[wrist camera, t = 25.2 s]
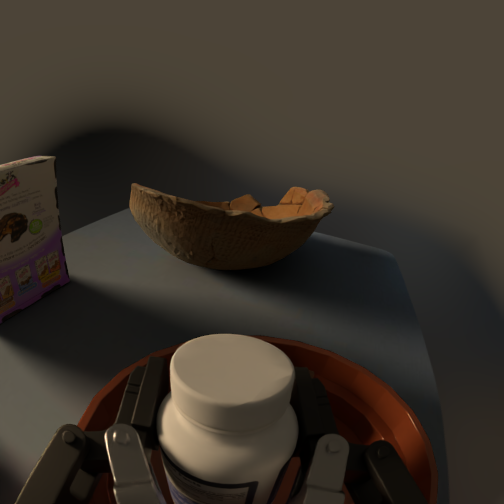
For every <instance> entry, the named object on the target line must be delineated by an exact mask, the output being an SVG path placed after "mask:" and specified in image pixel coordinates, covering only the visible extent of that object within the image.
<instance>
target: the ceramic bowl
mask: <svg viewBox="0 0 504 504" xmlns="http://www.w3.org/2000/svg"><path fill="white" fill-rule="evenodd" d="M329 200H330V199H329V196H328V194H326V193H325V192H324V191H322V190H313V191H310V192H309V191H308V190H307V189H304V188H299V187H293V188H291V189H290V190H289V191H288V192H287V194H286V195H285V196H284V197H283V198H282V200H281V201H280V204H279V205H277V206H269V207H260V206H261V204H260V203H259V202H258V201H257V200H255V199H254V198H253V197H252V196H251V195H249V194H248V195H244V196H242V197H240V198H237V199H235V200H233V201H232V202H231V203H230V202H205V201H190V200H187V199H183V198H178V197H175V196H171V195H167V194H164V193H162V192H159V191H156V190H153V189H150V188H147V187H144V186H141V185H138V184H136V183H134V184H132V191H131V199H130V209H131V212H132V214H133V217H134V219H135V221H136V222H137V223H138V224H139V225H140V227H141V228H142V229H143V231H144V232H145V233H146V234H147V235H148V236H149V237H150V238H151V239H152V240H153V241H154V242H155V243H156V244H158V245H159V246H161V247H162V248H163V249H164V250H166V251H167V252H169V253H170V254H172V255H173V256H175V257H177V258H179V259H181V260H183V261H185V262H187V263H190V264H194V265H197V266H201V267H206V268H210V269H217V270H241V269H249V268H258V267H261V266H266V265H270V264H272V263H274V262H276V261H278V260H280V259H282V258H284V257H286V256H288V255H289V254H290V253H292V252H293V251H295V250H296V249H298V248H299V247H301V246H302V245H303V244H304V243H305V242H306V240H307V239H308V238H309V237H310V236H311V234H312V233H313V232H314V230H315V229H316V227H317V225H318V223H319V222H320V220H321V219H322V218H323V217H325V216H327V215H328V214H330V213H331V210H332V209H333V208H334V205H333V204H331V203H329Z"/></svg>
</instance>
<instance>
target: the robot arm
mask: <svg viewBox="0 0 504 504" xmlns="http://www.w3.org/2000/svg"><path fill="white" fill-rule="evenodd" d="M294 371H295V378H294V383H293V388H292V392H291V398H290V402H289V403H290V405H291V406H292V407H293V409H294V411H295V413H296V416H297V420H298V425H299V435H298V440H297V444H296V448H295V450H294V453H293V456H292V458H293V457H300V461H301V464H300V465H299V468H298V471H297V474H296V477H295V480H294V483H293V486H292V489H291V492H290V494H289V497H288V500H287V502H286V503H285V504H344V501H345V493H344V492H343V491H342V485H343V482H344V484H345V486H346V488H347V490H348V492H349V494H350V496H351V498H352V500H353V502H354V504H428V502H427V500H426V499H425V497H424V495H423V494H422V492H421V490H420V489H419V487H418V485H417V484H416V482H415V481H414V479H413V477H412V476H411V474H410V472H409V471H408V469H407V468H406V466H405V464H404V463H403V461H402V459H401V458H400V456H399V455H398V453H397V451H396V450H395V448H394V447H393V445H392V444H391V443H389V442H387V441H384V440H377V441H374V442H373V443H371V444H370V445H361V444H354V443H350V442H348V441H346V439H344V438H343V437H342V436H340V434H339V432H338V430H337V426H336V423H335V419H334V416H333V413H332V409H331V406H330V402H329V399H328V397H327V392H326V389H325V386H324V385H323V384H322V382H321V381H320V380H319V379H318V378H311V376H310V373H309V369H308V368H307V367H294ZM168 389H169V376H168V367H167V359H166V358H161V357H154V356H149V358H148V362H147V365H146V367H143V366H137V367H136V368H135V369H134V370H133V371H132V372H131V373H130V376H129V379H128V382H127V385H126V388H125V392H124V395H123V398H122V401H121V405H120V408H119V411H118V415H117V418H116V421H115V423H114V424H113V425H112V426H111V427H109V428H108V429H106V430H103V431H83V430H82V429H81V428H79V427H78V426H76V425H73V424H66V425H63V426H61V427H60V428H59V429H58V430H57V431H56V433H55V434H54V436H53V438H52V439H51V441H50V442H49V444H48V446H47V447H46V449H45V451H44V452H43V454H42V456H41V457H40V459H39V461H38V462H37V464H36V466H35V468H34V469H33V471H32V473H31V474H30V476H29V478H28V480H27V482H26V483H25V485H24V487H23V489H22V491H21V493H20V494H19V496H18V498H17V500H16V502H15V504H89V502H90V500H91V498H92V496H93V494H94V491H95V489H96V487H97V485H98V483H99V481H100V479H101V477H102V475H103V473H112V475H113V479H114V486H113V490H114V495H115V498H116V501H117V504H166V501H165V499H164V497H163V495H162V492H161V490H160V487H159V484H158V482H157V479H156V476H155V473H154V470H153V467H152V464H151V461H150V458H151V452H152V450H156V451H158V449H159V441H158V436H157V429H156V417H157V413H158V409H159V407H160V405H161V403H162V401H163V399H164V398H165V397H166V396H167V394H168Z"/></svg>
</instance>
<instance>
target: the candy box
mask: <svg viewBox="0 0 504 504" xmlns="http://www.w3.org/2000/svg"><path fill="white" fill-rule="evenodd" d="M68 282H70V279H69V274H68V269H67V264H66V259H65V253H64V247H63V241H62V235H61V227H60V218H59V209H58V196H57V181H56V157H50V156H35V157H31V158H26V159H21V160H17V161H13V162H9V163H6V164H2V165H0V324H1V323H3V322H4V321H5V320H7V319H8V318H10V317H12V316H13V315H15V314H17V313H18V312H19V311H21V310H23V309H24V308H26V307H28V306H29V305H31V304H33V303H34V302H36V301H37V300H39V299H41V298H42V297H44V296H46V295H48V294H49V293H51V292H52V291H54V290H56V289H58V288H60V287H61V286H63V285H64V284H66V283H68Z"/></svg>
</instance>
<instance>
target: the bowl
mask: <svg viewBox="0 0 504 504" xmlns="http://www.w3.org/2000/svg"><path fill="white" fill-rule="evenodd" d="M244 336H249V337H253V338H257V339H260V340H263V341H265V342H268V343H270V344H272V345H274V346H275V347H277V348H279V349H280V350H281V351H283V352H284V353H285V354H286V355H287V356H288V357H289V359H290V360H291V362H292V364H293V366H296V367H307V368H308V369H309V370H310V371H314V377H313V378H318V379H319V380H320V381H321V382H322V384H323V385H324V386H325V389H326V392H327V397H328V399H329V402H330V406H331V409H332V413H333V416H334V419H335V423H336V426H337V430H338V432H339V434H340V436H342V437H343V438H344V439H346V441H348V442H350V443H354V444H361V445H370V444H371V443H373V442H374V441H377V440H384V441H387V442H389V443H391V444H392V445H393V447H394V448H395V450H396V451H397V453H398V455H399V456H400V458H401V459H402V461H403V463H404V464H405V466H406V468H407V469H408V471H409V472H410V474H411V476H412V477H413V479H414V481H415V482H416V484H417V485H418V487H419V489H420V490H421V492H422V494H423V495H424V497H425V499H426V500H427V502H428V504H437V492H438V470H437V466H436V462H435V458H434V454H433V450H432V446H431V442H430V441H429V440H430V439H429V438H428V436H427V434H426V432H425V430H424V429H423V427H422V425H421V423H420V422H419V420H418V418H417V416H416V415H415V413H414V412H413V410H412V409H411V408H410V407H409V406H408V405H407V404H406V403H405V401H404V400H403V399H402V398H401V397H400V396H399V395H398V394H397V393H396V392H395V391H394V390H393V389H392V388H391V387H390V386H389V385H388V384H386V383H385V382H384V381H382V380H381V379H380V378H378V377H377V376H375V375H374V374H373V373H371V372H370V371H368V370H367V369H366V368H364V367H362V366H360V365H358V364H356V363H354V362H352V361H350V360H348V359H346V358H344V357H342V356H340V355H338V354H336V353H334V352H331V351H329V350H325V349H322V348H319V347H316V346H312V345H309V344H306V343H303V342H300V341H294V340H287V339H281V338H275V337H268V336H261V335H244ZM186 342H188V341H186ZM186 342H183V343H180V344H177V345H174V346H171V347H168V348H165V349H162V350H159V351H156V352H153V353H151V354H150V355H148V356H146V357H144V358H143V359H141V360H139V361H137V362H136V363H134V364H132V365H130V366H128V367H127V368H125V369H123V370H122V371H121V372H120V373H118V374H117V375H116V376H115V377H114V378H113V379H112V380H111V381H110V382H109V383H108V384H107V385H106V386H105V387H104V388H103V389H101V390H100V391H99V392H98V393H97V394H96V395H95V397H94V398H93V399H92V401H91V403H90V404H89V406H88V408H87V409H86V411H85V413H84V414H83V416H82V418H81V420H80V421H79V423H78V425H77V426H78V427H79V428H81V429H82V430H83V431H103V430H106V429H108V428H109V427H111V426H112V425H113V424H114V423H115V421H116V418H117V415H118V411H119V408H120V405H121V401H122V398H123V395H124V392H125V388H126V385H127V382H128V379H129V376H130V373H131V372H132V371H133V370H134V369H135V368H136V367H137V366H143V367H146V365H147V362H148V358H149V356H154V357H161V358H166V359H167V367H168V376H169V389H168V393H169V392H170V391H171V381H170V363H171V359H172V356H173V355H174V353H175V352H176V350H177V349H178V348H179V347H180V346H182V345H183V344H185V343H186ZM150 461H151V464H152V467H153V470H154V473H155V476H156V479H157V482H158V484H159V487H160V490H161V492H162V495H163V497H164V499H165V501H166V504H174V502H173V499H172V496H171V493H170V489H169V485H168V481H167V477H166V473H165V469H164V465H163V460H162V456H161V451H160V446H159V449H158V451H156V450H152V452H151V458H150ZM300 464H301V461H300V457H293V458H291V461H290V463H289V466H288V468H287V471H286V473H285V475H284V478H283V480H282V483H281V485H280V487H279V490H278V492H277V494H276V497H275V499H274V501H273V503H272V504H285V503H286V502H287V500H288V497H289V494H290V492H291V489H292V486H293V483H294V480H295V477H296V474H297V471H298V468H299V465H300ZM113 486H114V479H113V475H112V473H103V475H102V477H101V479H100V481H99V483H98V485H97V487H96V489H95V491H94V494H93V496H92V498H91V500H90V502H89V504H117V501H116V498H115V495H114V490H113ZM342 491H343V492H344V493H345V501H344V504H354V502H353V500H352V498H351V496H350V494H349V492H348V490H347V488H346V486H345V484H344V482H343V485H342Z"/></svg>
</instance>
